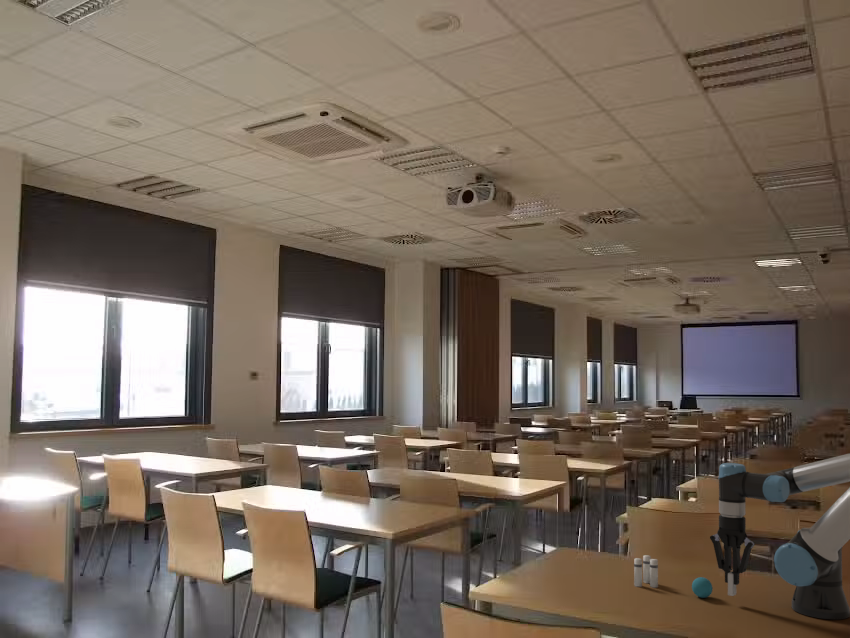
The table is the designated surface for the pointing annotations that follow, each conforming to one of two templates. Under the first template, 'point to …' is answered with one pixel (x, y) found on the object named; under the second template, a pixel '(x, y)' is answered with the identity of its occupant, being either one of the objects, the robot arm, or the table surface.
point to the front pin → (654, 573)
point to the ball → (702, 587)
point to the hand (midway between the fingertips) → (732, 594)
